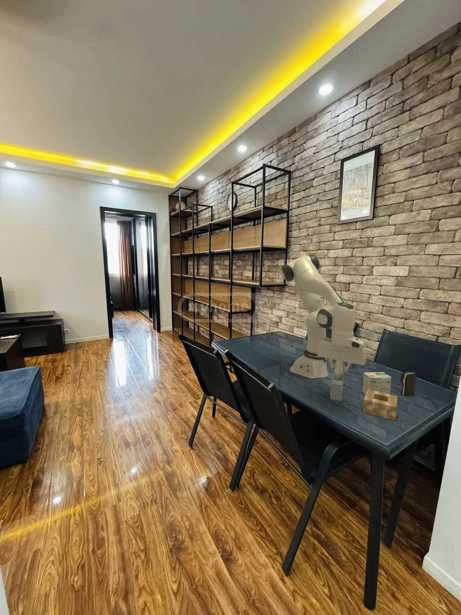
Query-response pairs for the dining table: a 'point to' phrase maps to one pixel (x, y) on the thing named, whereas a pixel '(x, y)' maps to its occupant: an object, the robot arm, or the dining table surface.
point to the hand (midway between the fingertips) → (339, 369)
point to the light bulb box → (376, 382)
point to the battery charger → (408, 383)
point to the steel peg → (339, 369)
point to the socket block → (380, 404)
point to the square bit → (336, 390)
